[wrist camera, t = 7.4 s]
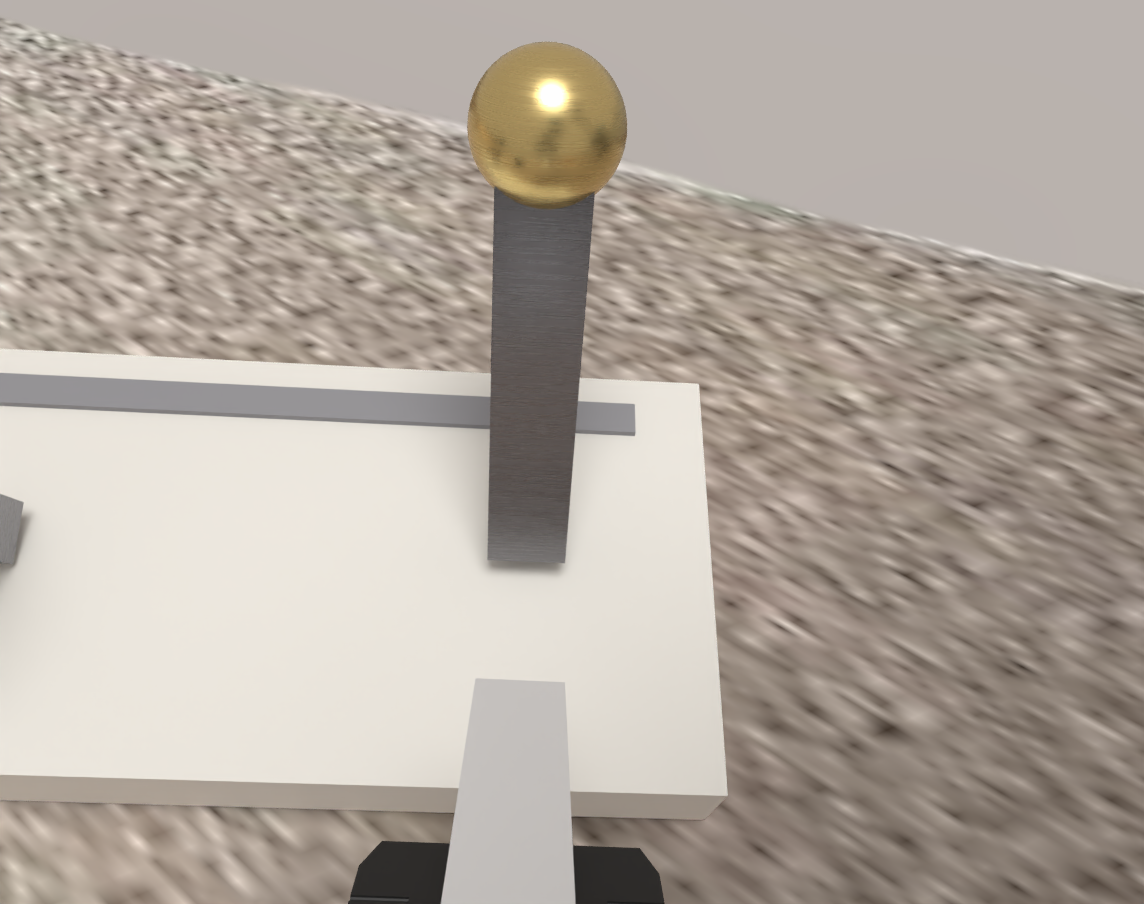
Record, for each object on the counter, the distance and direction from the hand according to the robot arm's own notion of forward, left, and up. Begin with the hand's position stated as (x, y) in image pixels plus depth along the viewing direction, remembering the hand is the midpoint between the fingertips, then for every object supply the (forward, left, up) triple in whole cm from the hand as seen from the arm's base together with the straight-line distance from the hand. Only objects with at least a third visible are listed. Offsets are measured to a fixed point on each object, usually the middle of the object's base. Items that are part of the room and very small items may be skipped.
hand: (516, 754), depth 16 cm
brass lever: (+5, -5, -7) cm, 10 cm away
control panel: (+10, 0, -10) cm, 14 cm away
